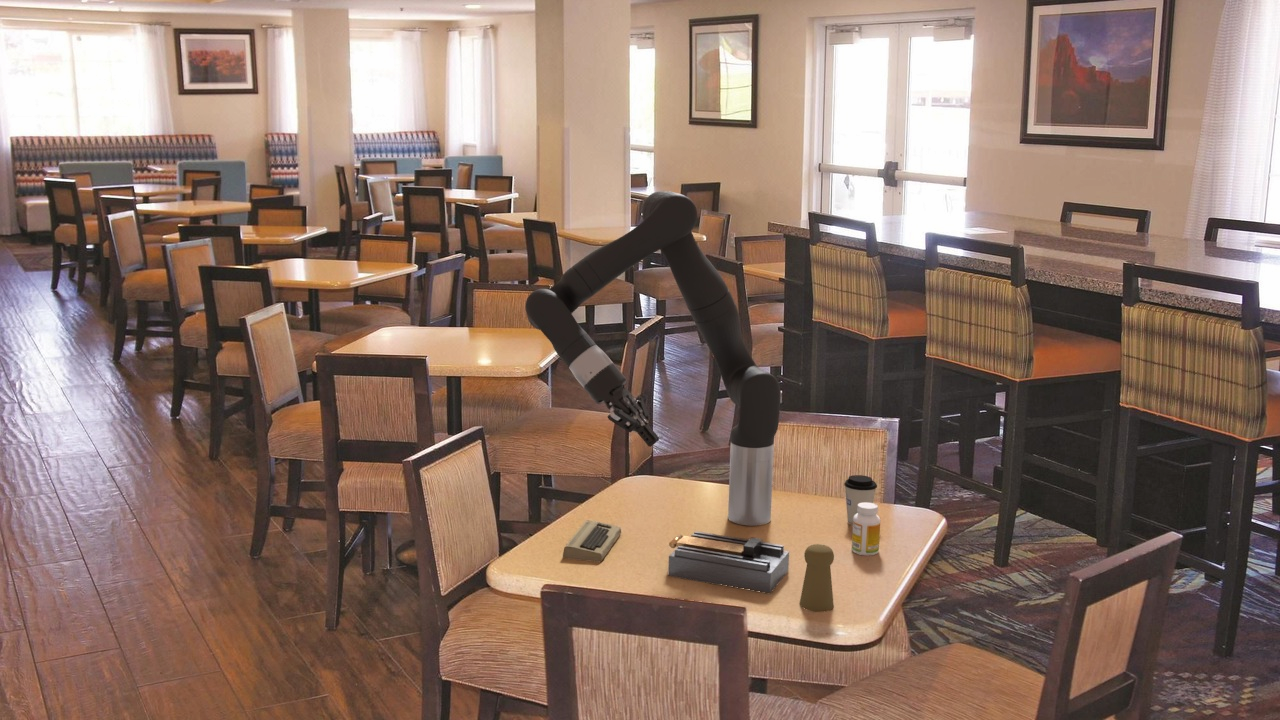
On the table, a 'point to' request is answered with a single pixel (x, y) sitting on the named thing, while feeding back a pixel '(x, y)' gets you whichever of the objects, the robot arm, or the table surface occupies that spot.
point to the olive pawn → (817, 579)
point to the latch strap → (707, 545)
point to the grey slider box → (732, 564)
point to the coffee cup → (858, 493)
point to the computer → (592, 541)
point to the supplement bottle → (866, 529)
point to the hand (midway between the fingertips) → (654, 443)
